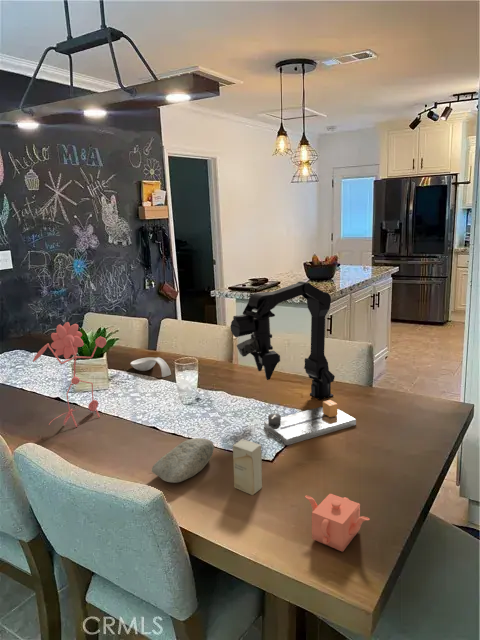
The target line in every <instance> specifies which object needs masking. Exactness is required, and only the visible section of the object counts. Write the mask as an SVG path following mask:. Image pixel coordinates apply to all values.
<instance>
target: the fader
mask: <svg viewBox="0 0 480 640" xmlns="http://www.w3.org/2000/svg"><path fill="white" fill-rule="evenodd" d="M322 406H323V413H324V414H325V415H327V416H329V417H333V416H336V415H338V409H339V408H338V403H337V402H336V401H333V400H331V399H328V400H323V401H322Z"/></svg>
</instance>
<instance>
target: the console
mask: <svg viewBox="0 0 480 640" xmlns="http://www.w3.org/2000/svg"><path fill="white" fill-rule="evenodd" d="M263 424H264V429H266V430H267V431H268V432H269V431H270V433H271V434H272V433H273V434H274V435H273V434H272V435H273V436H274V437H276V436H277V437H278V438H279V439H278V438H277V437H276V438H277V439H278V440H280V439H281V440H282V441H283V442H284V443H283V442H282V441H281V440H280V441H281V442H282V443H283V444H285V446H290V445H292V444H296V443H300V442H303V441H307V440H310V439H313V438H317V437H319V436H320V437H321V436H323V435H326V434H330V433H334V432H337V431H340V430H343V429H347V428H350V427H353V426H354V427H355V426H356V425H357V419H356V418H354V417H353V416H351V415H349V414H348V413H346V412H344V411H343V410H340V408H338V415H336V416H333V417H329V416H327V415H325V414H324V413H323V405H322V406H319V407H315V408H312V409H307V410H303V411H300V412H295V413H292V414H289V415H284V416H281V423H280V424H277V425H272V424H269V422H268V420H266V421H263Z"/></svg>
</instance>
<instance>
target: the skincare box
mask: <svg viewBox="0 0 480 640" xmlns="http://www.w3.org/2000/svg"><path fill="white" fill-rule="evenodd" d="M232 457H233V458H232V460H233V463H232V464H233V486H234V489H237V490H239V491H241V492H244V493H246V494H249V495H251V496H254V495H255V494H257V492H259V491H260V490H261V489H262V488H263V474H262V473H263V472H262V471H263V468H262V466H263V464H262V461H263V460H262V444H260V443H257V442H254V441H251V440H248V439H245V438H241V439H240V440H238V441H237V442H235V443H234V444H233V445H232Z"/></svg>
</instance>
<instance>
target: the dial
mask: <svg viewBox="0 0 480 640" xmlns="http://www.w3.org/2000/svg"><path fill="white" fill-rule="evenodd" d="M281 417H282V416H281V414H279V413H270V414H269V415H268V418H267V421H268V422H269V424H272V425H277V424H280V423H281Z"/></svg>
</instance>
